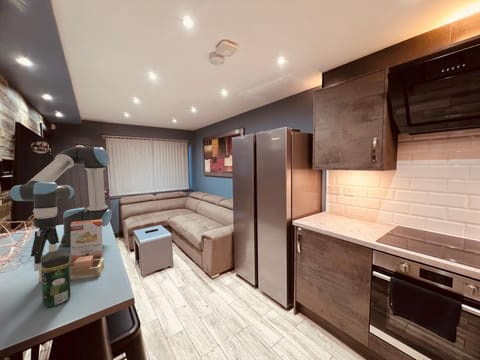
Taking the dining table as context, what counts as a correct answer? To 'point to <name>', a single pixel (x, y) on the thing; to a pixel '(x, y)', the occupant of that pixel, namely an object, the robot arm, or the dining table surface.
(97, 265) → the frame
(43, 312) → the dining table surface
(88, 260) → the corded block
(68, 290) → the coffee jar
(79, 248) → the cracker box
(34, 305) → the dining table surface
